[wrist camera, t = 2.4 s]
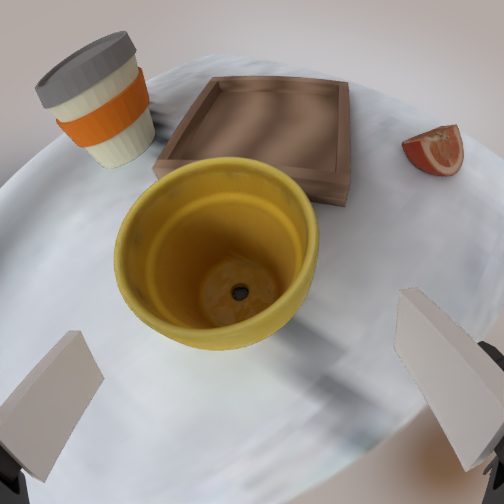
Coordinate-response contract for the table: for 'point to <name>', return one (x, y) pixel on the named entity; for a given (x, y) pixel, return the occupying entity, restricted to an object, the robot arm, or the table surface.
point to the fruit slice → (436, 151)
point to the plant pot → (218, 253)
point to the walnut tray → (271, 130)
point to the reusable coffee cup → (101, 100)
